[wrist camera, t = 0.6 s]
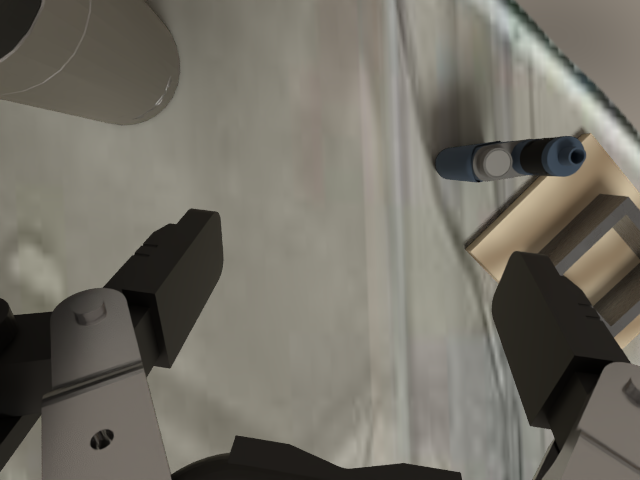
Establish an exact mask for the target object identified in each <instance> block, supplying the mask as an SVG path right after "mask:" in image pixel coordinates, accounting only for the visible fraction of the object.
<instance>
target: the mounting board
mask: <svg viewBox="0 0 640 480" xmlns="http://www.w3.org/2000/svg"><path fill="white" fill-rule="evenodd" d="M578 140H579V141H580V142H581V143H582V144H583V146H584V150H585V151H586V159H585V161H584V162H583V164H582V166H581V167H580V169H579V170H578V171H577V172H576V173H574V174H572V175H570V176H566V177H558V176H539V177H538V178H537V179H536V180H535V181H534V182H533V183H532V184H531V185H530V186H529V187H528V188H527V189H526V190H525V191H524V192H523V193H522V194H521V195H520V196H519V197H518V198H517V199H516V200H515V201H514V202H513V203H512V204H511V205H510V206H509V207H508V208H507V209H506V210H505V211H504V212H503V213H502V214H501V215H500V216H499V217H498V218H497V219H496V220H495V221H494V222H493V223H492V224H491V225H490V226H489V227H488V228H487V229H486V230H484V231H483V232H482V233H481V234H480V235H479V236H478V237H477V238H476V239H475V240H474V241H473V242H472V243H471V244H470V245H469V246H468V247H467V248H466V249H465V250H466V251H467V252H468V253H469V254H470V255H471V256H472V257H473V258H474V259H475V260H476V261H477V262H478V263H479V264H480V265H481V266H482V267H483V268H484V269H485V270H486V271H487V272H488V273H489V274H490V275H491V276H492V277H493V279H494V280H495V281H496V282H497V283H498V284H499V282H500V279H501V277H502V274H503V272H504V270H505V267H506V265H507V262H508V260H509V258H510V256H511V254H512V253H513V252H515V251H521V252H529V253H538V252H539V251H541V250H542V249H543V248H544V247H545V246H546V245H547V244H548V243H549V242H550V241H551V240H552V239H553V238H554V237H555V236H556V235H557V234H558V233H559V232H560V231H561V230H562V229H563V228H564V227H565V226H567V225H568V224H569V223H570V222H571V221H572V220H573V219H574V218H575V217H576V216H577V215H578V214H579V213H580V212H581V211H582V210H583V209H584V208H585V207H586V206H587V205H588V204H589V203H590V202H591V201H592V200H594V199H595V198H596V197H597V196H598V195H599V194H608V195H618V196H628V197H629V198H630V199H631V200H632V201H633V203H634V204H635V205H636V206H637V207H638V209H639V210H640V193H639V192H638V191H637V189H636V188H635V187H634V186H633V184H632V183H631V182H630V181H629V180H628V178H627V177H626V176H625V175H624V173H623V172H622V171H621V170H620V168H619V167H618V166H617V165H616V164H615V162H614V161H613V160H612V159H611V157H610V156H609V155H608V154H607V152H606V151H605V150H604V149H603V147H602V146H601V145H600V144H599V143H598V141H597V140H596V139H595V138H594V136H593V135H592V134H591V133H589V134H582V135H581V136H580V137H579V138H578ZM639 263H640V259H639V258H638V257H637V256H636V254H635V253H634V252H633V251H632V250H631V249H630V247H629V246H628V245H627V244H626V243H625V242H624V240H623V239H622V238H621V237H620V236H619V234H618V233H617V232H616V231H615V230H614V229H613V227H612V228H611V229H610V230H609V231H608V232H607V233H606V234H605V235H604V236H603V237H602V238H601V239H600V240H599V241H598V242H596V243H595V244H594V245H593V246H592V247H591V248H590V249H589V250H588V251H587V252H586V253H585V254H584V255H583V256H582V257H581V258H580V259H579V260H578V261H576V262H575V263H574V264H573V265H572V266H571V267H570V268H569V269H568V270H567V271H566V272H565V273H564V274H563V275H564V276H566V277H567V278H568V279H569V280H571V281H572V282H573V283H574V284H575V285H577V286H578V287H579V288H580V289H581V290H582V291H583V292H584V294H585V295H586V297H587V298H588V300H589V301H590V303H591V304H592V306H594V305H595V304H596V303H597V302H598V301H599V300H600V299H601V298H602V297H603V296H605V295H606V294H607V293H608V292H609V291H610V290H611V289H612V288H613V287H614V286H615V285H616V284H617V283H618V282H620V281H621V280H622V279H623V278H624V277H625V276H626V275H627V274H628V273H629V272H630V271H631V270H632V269H633V268H635V267H636V266H637V265H638V264H639ZM639 333H640V314H639V315H638V316H637V317H636V318H635V319H634V320H633V321H632V322H631V323H629V324H628V325H627V326H626V327H625V328H624V329H623V330H622V331H621V332H620V333H619V334H617V335H616V336H615V337H614V339H615V340H616V342H617V343H618V345H619V346H620V348H621V349H623V348H624V347H625V346H626V345H627V344H628V343H629V342H630V341H632V340H633V339H634V338H635V337H636V336H637V335H638V334H639Z"/></svg>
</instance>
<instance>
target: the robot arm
mask: <svg viewBox="0 0 640 480" xmlns="http://www.w3.org/2000/svg"><path fill="white" fill-rule="evenodd" d="M179 75H180V61H179V55H178V51H177V47H176V44H175V42H174V40H173V37H172V35H171V33H170V32H169V30H168V29H167V27H166V26H165V25H164V23H163V22H162V20H161V19H160V18H159V17H158V16H157V15H156V14H155V13H154V12H153V10H152V9H151V8H150V7H149V6H148V5H147V4H146V2H145V1H144V0H0V99H2V100H7V101H11V102H16V103H20V104H25V105H29V106H34V107H38V108H43V109H47V110H52V111H56V112H61V113H65V114H70V115H74V116H79V117H83V118H87V119H92V120H96V121H101V122H105V123H111V124H117V125H133V124H137V123H141V122H144V121H147V120H149V119H151V118H152V117H154V116H156V115H157V114H159V113H160V112H161V111H162V110H163V109H164V108H165V107H166V106H167V105H168V103H169V102H170V100H171V99H172V97H173V95H174V93H175V90H176V88H177V86H178V80H179ZM222 268H223V245H222V232H221V219H220V215H219V213H218V212H215V211H207V210H199V209H189V210H188V211H187V212H186V214H185V215H184V216H183V217H182V218H181V219H180V221H179V222H178V223H177V224H168V225H166V226H164V227H162V228H160V229H159V230H157V231H155V232H153V233H152V235H151V236H150V237H149V238H148V239H147V240H146V241H145V242H144V243H143V246H141V247H140V248H139V249H138V250H137V251H136V252H135V255H132V256H131V257H130V259H129V260H128V261H127V262H126V263H125V264H124V265H123V266H122V267H121V268H120V269H119V271H118V272H117V273H116V274H115V275H114V276H113V277H112V278H111V279H110V280H109V281H108V283H107V284H106V285H105V286H104V287H103V288H95V289H89V290H85V291H82V292H79V293H76V294H74V295H72V296H70V297H68V298H67V299H65V300H63V301H62V302H61V303H60V304H59V305H58V306H57V307H56V308H55V309H54V311H53V312H44V313H33V314H22V315H13V313H12V311H11V309H10V307H9V305H8V303H7V302H6V301H5V300H3V299H1V298H0V471H1V470H2V469H3V467H4V466H5V464H6V463H7V462H8V460H9V459H10V457H11V456H12V455H13V453H14V452H15V450H16V449H17V448H18V446H19V445H20V444H21V442H22V441H23V439H24V438H25V437H26V435H27V434H28V432H29V431H30V430H31V428H32V427H33V425H34V424H35V423H36V421H37V420H38V418H39V417H40V416H41V414H42V480H462V477H461V473H460V472H454V471H448V470H442V469H436V468H430V467H424V466H418V465H412V464H406V463H401V464H391V465H382V466H372V467H363V468H353V469H346V468H341V467H339V466H336V465H334V464H332V463H330V462H328V461H325V460H323V459H321V458H319V457H317V456H314V455H312V454H310V453H308V452H305V451H303V450H301V449H299V448H297V447H294V446H292V445H290V444H285V443H279V442H273V441H267V440H261V439H255V438H248V437H242V436H235V440H234V443H233V446H232V449H231V452H230V453H225V454H219V455H215V456H211V457H207V458H204V459H201V460H199V461H196V462H193V463H191V464H189V465H187V466H185V467H183V468H181V469H179V470H178V471H176V472H175V473H173V474H171V472H170V468H169V464H168V460H167V456H166V452H165V449H164V445H163V441H162V437H161V433H160V429H159V425H158V421H157V417H156V413H155V409H154V405H153V401H152V397H151V393H150V389H149V386H148V382H147V376H148V374H149V373H150V371H151V369H152V368H153V366H158V367H164V368H171V366H172V364H173V363H174V361H175V359H176V357H177V355H178V353H179V352H180V350H181V348H182V346H183V344H184V342H185V341H186V339H187V337H188V335H189V333H190V331H191V330H192V328H193V326H194V324H195V322H196V320H197V319H198V317H199V315H200V313H201V311H202V309H203V308H204V306H205V304H206V302H207V300H208V298H209V297H210V295H211V293H212V291H213V289H214V287H215V286H216V284H217V282H218V280H219V278H220V276H221V272H222ZM492 316H493V320H494V322H495V325H496V328H497V331H498V334H499V337H500V340H501V343H502V346H503V349H504V352H505V355H506V357H507V360H508V363H509V366H510V369H511V372H512V375H513V378H514V381H515V384H516V387H517V390H518V392H519V395H520V398H521V401H522V404H523V407H524V410H525V413H526V416H527V419H528V422H529V425H530V426H533V427H540V428H546V429H551V430H552V432H553V435H554V440H553V441H552V442H551V444H550V445H549V447H548V449H547V451H546V453H545V455H544V457H543V459H542V461H541V463H540V465H539V467H538V469H537V471H536V473H535V475H534V477H533V479H532V480H640V366H637V365H634V364H631V363H630V361H629V360H628V358H627V357H626V355H625V354H624V352H623V351H622V349H621V348H620V346H619V345H618V343H617V342H616V340H615V339H614V337H613V336H612V334H611V333H610V331H609V330H608V328H607V327H606V325H605V324H604V322H603V321H600V316H599V315H598V313H597V312H596V310H595V309H594V308H592V304H591V303H590V301H589V300H588V298H587V297H586V295H585V294H584V292H583V291H582V290H581V289H580V288H579V287H578V286H577V285H575V284H574V283H573V282H572V281H571V280H569V279H568V278H567V277H566V276H561V275H560V274H559V273H558V271H557V269H556V268H555V266H554V265H553V263H552V261H551V260H550V258H549V257H548V256H547V255H545V254H537V253H529V252H521V251H515V252H513V253H512V254H511V256H510V258H509V260H508V262H507V265H506V267H505V270H504V272H503V274H502V277H501V279H500V282H499V284H498V286H497V289H496V291H495V294H494V297H493V301H492Z"/></svg>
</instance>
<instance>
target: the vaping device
mask: <svg viewBox="0 0 640 480" xmlns="http://www.w3.org/2000/svg"><path fill="white" fill-rule="evenodd" d="M546 139H547V140H546ZM585 159H586V151H585V150H584V146H583V144H582V143H581V142H580V141H579V140H578V139H577V138H575V137H572V136H563V137H557V138H556V137H554V138H542V139H526V140H519V141H509V142H501V141H496V142H488V143H481V144H474V145H467V146H460V147H453V148H447V149H444V150H443V151H441V152H440V153H439V154H438V156H437V158H436V169H437V172H438V173H439V175H440V176H441V177H443V178H445V179H450V180H460V181H469V182H482V181H494V180H500V179H506V178H512V177H518V176H525V175H538V176H558V177H566V176H570V175H572V174H574V173H576V172H577V171H578V170H579V169H580V167H581V166H582V164H583V162H584V161H585Z"/></svg>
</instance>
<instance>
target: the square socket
mask: <svg viewBox="0 0 640 480" xmlns="http://www.w3.org/2000/svg"><path fill="white" fill-rule="evenodd" d="M612 227H613V229H614V230H615V231H616V232H617V233H618V234H619V236H620V237H621V238H622V239H623V240H624V242H625V243H626V244H627V245H628V246H629V247H630V249H631V250H632V251H633V252H634V253H635V254H636V256H637V257H638V258H639V259H640V210H639V209H638V207H637V206H636V205H635V204H634V203H633V201H632V200H631V199H630V198H629V197H628V196H618V195H608V194H599V195H598V196H597V197H596V198H595V199H594V200H592V201H591V202H590V203H589V204H588V205H587V206H586V207H585V208H584V209H583V210H582V211H581V212H580V213H579V214H578V215H577V216H576V217H575V218H574V219H573V220H572V221H571V222H570V223H569V224H568V225H567V226H565V227H564V228H563V229H562V230H561V231H560V232H559V233H558V234H557V235H556V236H555V237H554V238H553V239H552V240H551V241H550V242H549V243H548V244H547V245H546V246H545V247H544V248H543V249H542V250H541V251H539V252H538V253H537V254H545V255H547V256H548V257H549V258H550V260H551V261H552V263H553V265H554V266H555V268H556V269H557V271H558V273H559V274H560V275H561V276H564V275H563V274H564V273H565V272H566V271H567V270H568V269H569V268H570V267H571V266H572V265H573V264H574V263H575V262H576V261H578V260H579V259H580V258H581V257H582V256H583V255H584V254H585V253H586V252H587V251H588V250H589V249H590V248H591V247H592V246H593V245H594V244H595V243H596V242H598V241H599V240H600V239H601V238H602V237H603V236H604V235H605V234H606V233H607V232H608V231H609V230H610V229H611V228H612ZM592 308H594V309H595V310H596V312H597V313H598V315H599V316H600V321H603V322H604V324H605V325H606V327H607V328H608V330H609V331H610V333H611V334H612V336H613V337H615V336H616V335H617V334H619V333H620V332H621V331H622V330H623V329H624V328H625V327H626V326H627V325H628V324H629V323H631V322H632V321H633V320H634V319H635V318H636V317H637V316H638V315H639V314H640V263H639V264H638V265H637V266H636V267H635V268H633V269H632V270H631V271H630V272H629V273H628V274H627V275H626V276H625V277H624V278H623V279H622V280H621V281H620V282H618V283H617V284H616V285H615V286H614V287H613V288H612V289H611V290H610V291H609V292H608V293H607V294H606V295H605V296H603V297H602V298H601V299H600V300H599V301H598V302H597V303H596V304H595V305H594V306H592Z"/></svg>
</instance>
